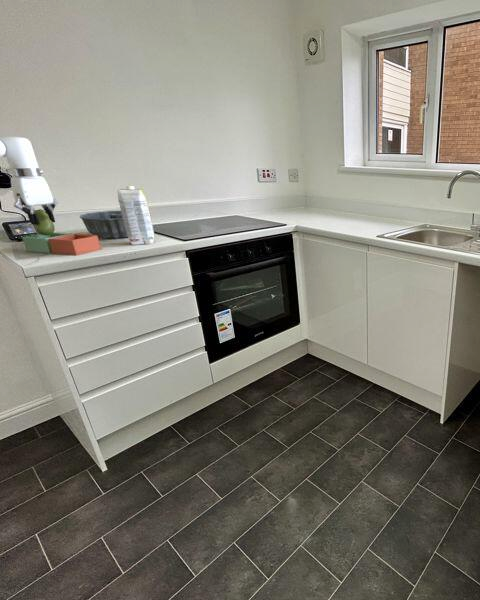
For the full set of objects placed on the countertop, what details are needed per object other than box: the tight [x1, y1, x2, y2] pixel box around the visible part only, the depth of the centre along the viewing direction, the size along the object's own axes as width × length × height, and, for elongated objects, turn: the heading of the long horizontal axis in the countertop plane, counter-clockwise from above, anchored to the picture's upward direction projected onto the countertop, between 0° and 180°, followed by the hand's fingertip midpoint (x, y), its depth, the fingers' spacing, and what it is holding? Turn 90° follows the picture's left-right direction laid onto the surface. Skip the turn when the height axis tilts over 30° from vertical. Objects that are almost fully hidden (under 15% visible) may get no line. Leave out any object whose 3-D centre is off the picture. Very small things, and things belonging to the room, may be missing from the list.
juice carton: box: [117, 185, 155, 246], centre depth 150 cm, size 9×8×24 cm
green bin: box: [21, 232, 73, 254], centre depth 139 cm, size 10×10×6 cm
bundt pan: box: [79, 210, 128, 239], centre depth 166 cm, size 26×26×10 cm
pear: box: [33, 208, 55, 235], centre depth 135 cm, size 6×5×10 cm
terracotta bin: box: [49, 233, 102, 256], centre depth 137 cm, size 10×10×6 cm
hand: (43, 222), depth 136 cm, fingers closed on pear, 4 cm apart
